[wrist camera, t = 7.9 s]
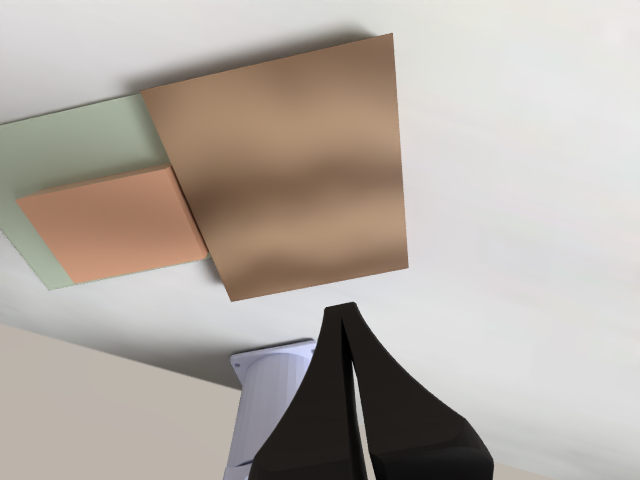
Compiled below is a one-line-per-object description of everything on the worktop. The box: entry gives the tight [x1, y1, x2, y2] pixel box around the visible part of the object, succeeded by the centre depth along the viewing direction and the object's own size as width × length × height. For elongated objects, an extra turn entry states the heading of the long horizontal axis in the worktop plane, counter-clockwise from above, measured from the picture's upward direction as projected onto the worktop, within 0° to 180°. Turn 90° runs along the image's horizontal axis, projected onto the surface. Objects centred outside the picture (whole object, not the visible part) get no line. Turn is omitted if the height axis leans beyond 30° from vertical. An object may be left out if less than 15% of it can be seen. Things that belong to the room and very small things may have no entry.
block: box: [140, 33, 409, 302], centre depth 19 cm, size 14×13×2 cm
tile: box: [15, 163, 209, 284], centre depth 19 cm, size 6×9×2 cm, turn 101°
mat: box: [0, 93, 212, 290], centre depth 20 cm, size 11×13×1 cm
